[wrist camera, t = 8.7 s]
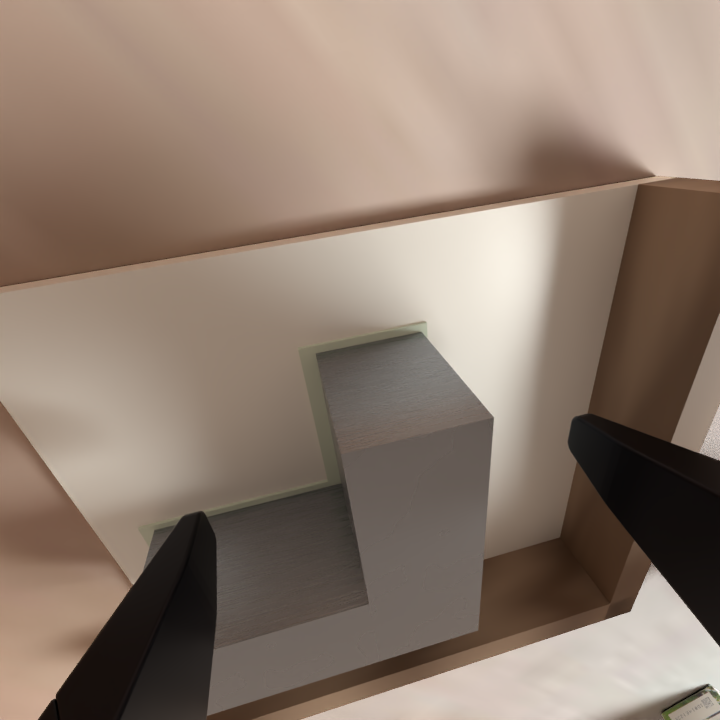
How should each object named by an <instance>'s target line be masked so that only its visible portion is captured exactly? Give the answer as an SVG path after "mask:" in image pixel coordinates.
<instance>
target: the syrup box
mask: <svg viewBox="0 0 720 720" xmlns="http://www.w3.org/2000/svg"><path fill="white" fill-rule="evenodd" d="M661 715H662V717H663V719H664V720H720V691H719V690H717V689H716V688H714V687H713V686H711V685H710V686H709V687H707V688H705V689H703V690H701V691H699V692H698V693H696V694H694V695H692V696H690V697H688V698H687V699H685V700H683V701H681V702H680V703H678V704H676V705H674V706H673V707H671V708H669V709H668V710H666V711H664V712H663V713H662V714H661Z"/></svg>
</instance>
